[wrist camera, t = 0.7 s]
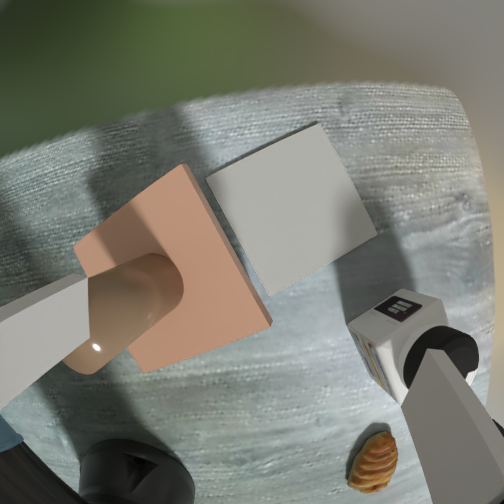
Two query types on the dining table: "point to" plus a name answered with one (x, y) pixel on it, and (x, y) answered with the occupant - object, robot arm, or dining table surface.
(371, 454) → the pastry
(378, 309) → the container
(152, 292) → the lid
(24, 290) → the dining table surface
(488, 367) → the dining table surface
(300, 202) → the mat
